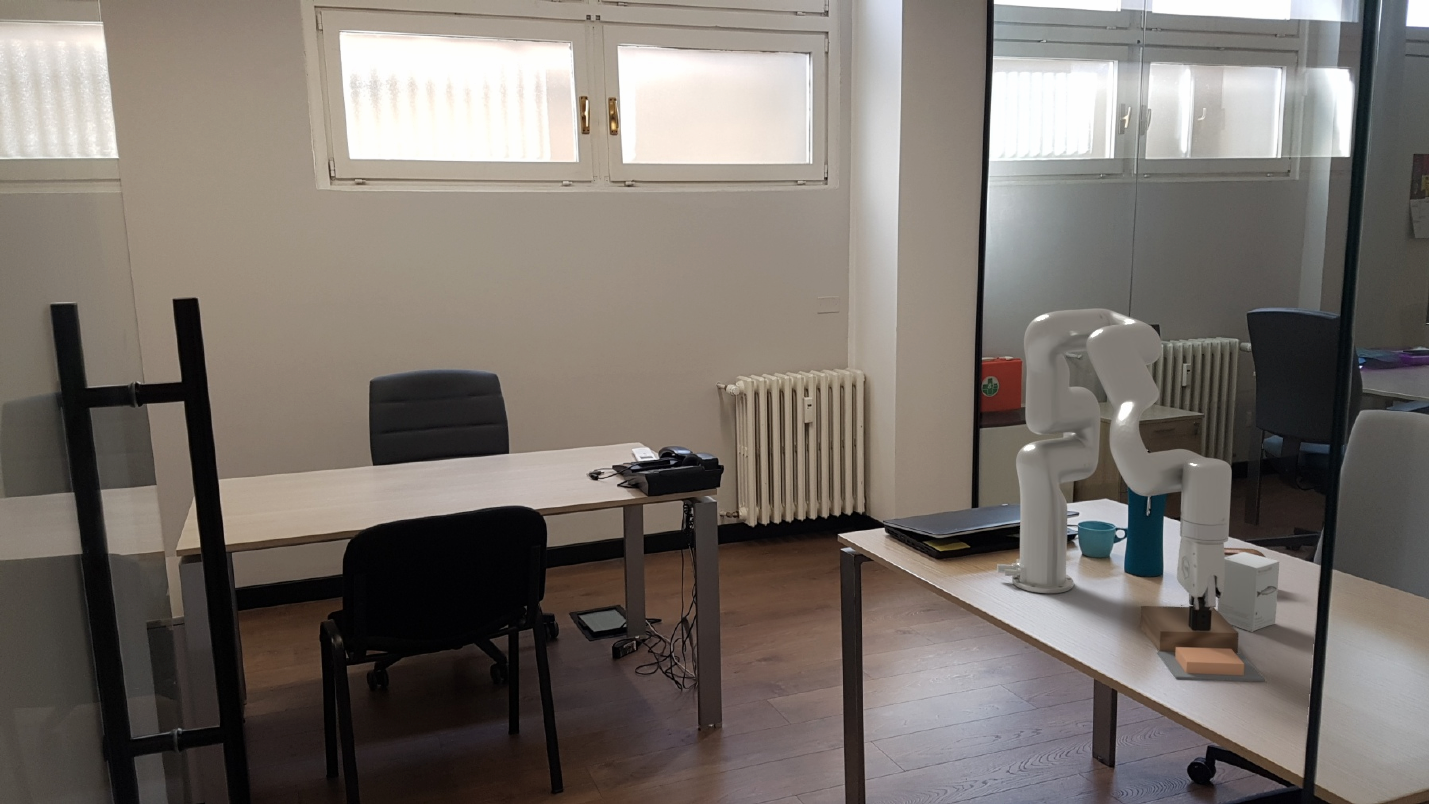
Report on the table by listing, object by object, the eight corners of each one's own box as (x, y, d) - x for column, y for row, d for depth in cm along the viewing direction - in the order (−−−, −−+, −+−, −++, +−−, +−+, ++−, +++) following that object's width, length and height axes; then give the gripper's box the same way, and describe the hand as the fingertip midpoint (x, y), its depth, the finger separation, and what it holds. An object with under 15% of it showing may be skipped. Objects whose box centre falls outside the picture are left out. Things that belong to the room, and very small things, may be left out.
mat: (1175, 678, 158) (1175, 676, 158) (1157, 653, 168) (1157, 651, 168) (1265, 681, 156) (1265, 679, 156) (1241, 655, 166) (1241, 653, 166)
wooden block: (1159, 652, 168) (1160, 631, 168) (1140, 625, 180) (1140, 605, 180) (1237, 654, 166) (1238, 633, 166) (1212, 627, 178) (1213, 607, 178)
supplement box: (1252, 633, 175) (1256, 568, 173) (1215, 619, 182) (1218, 557, 180) (1277, 624, 178) (1280, 560, 176) (1239, 611, 185) (1243, 550, 183)
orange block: (1175, 646, 165) (1175, 657, 165) (1186, 661, 159) (1186, 672, 159) (1231, 648, 163) (1230, 659, 164) (1244, 663, 158) (1243, 674, 158)
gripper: (1167, 516, 172) (1163, 612, 175) (1196, 542, 157) (1191, 646, 160) (1211, 517, 170) (1206, 613, 173) (1244, 542, 156) (1238, 647, 159)
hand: (1199, 628), depth 167 cm, fingers closed
